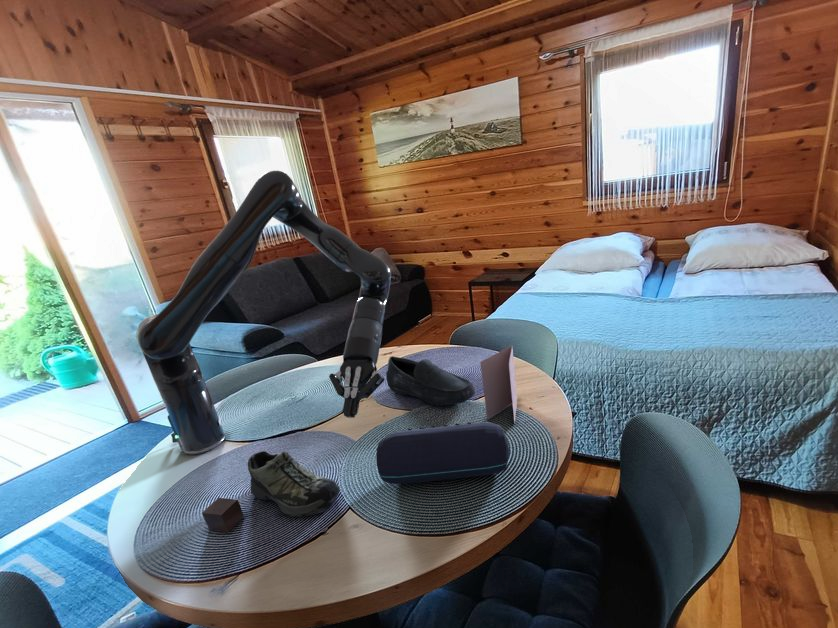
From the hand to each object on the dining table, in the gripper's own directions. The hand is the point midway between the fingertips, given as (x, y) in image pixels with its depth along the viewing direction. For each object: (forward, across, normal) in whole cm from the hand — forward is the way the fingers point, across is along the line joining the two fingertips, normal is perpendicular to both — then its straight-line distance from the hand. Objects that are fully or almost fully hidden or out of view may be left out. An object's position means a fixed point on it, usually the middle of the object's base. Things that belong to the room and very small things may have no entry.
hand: (348, 416), depth 92 cm
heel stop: (+23, +15, +9) cm, 29 cm away
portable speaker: (+10, -22, -4) cm, 25 cm away
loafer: (-12, -7, -26) cm, 30 cm away
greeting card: (-7, -31, -21) cm, 38 cm away
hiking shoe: (+17, +6, +3) cm, 18 cm away
